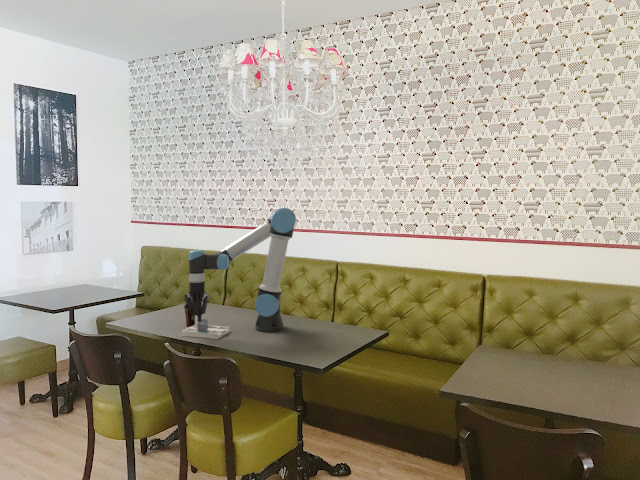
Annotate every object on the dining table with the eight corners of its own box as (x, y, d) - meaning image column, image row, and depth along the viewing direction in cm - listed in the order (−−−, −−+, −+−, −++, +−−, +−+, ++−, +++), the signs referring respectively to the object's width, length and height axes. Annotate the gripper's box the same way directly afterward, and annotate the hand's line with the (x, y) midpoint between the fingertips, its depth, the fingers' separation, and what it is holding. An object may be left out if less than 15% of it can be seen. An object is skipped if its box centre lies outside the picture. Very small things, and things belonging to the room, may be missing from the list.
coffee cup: (203, 324, 271) (202, 301, 270) (197, 328, 262) (197, 304, 261) (187, 324, 272) (187, 300, 270) (181, 328, 263) (181, 304, 262)
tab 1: (207, 327, 258) (207, 318, 258) (204, 329, 256) (204, 319, 255) (200, 327, 259) (200, 317, 259) (197, 328, 257) (197, 318, 256)
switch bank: (230, 331, 257) (230, 326, 256) (217, 339, 243) (217, 333, 243) (195, 328, 262) (195, 323, 262) (181, 335, 249) (181, 330, 248)
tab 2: (207, 332, 250) (207, 322, 249) (204, 333, 247) (204, 323, 246) (200, 331, 251) (200, 321, 250) (197, 333, 248) (197, 323, 247)
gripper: (212, 280, 249) (212, 326, 251) (189, 279, 253) (189, 325, 255) (205, 283, 242) (205, 330, 244) (181, 281, 245) (182, 328, 247)
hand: (197, 327), depth 249 cm, fingers closed
